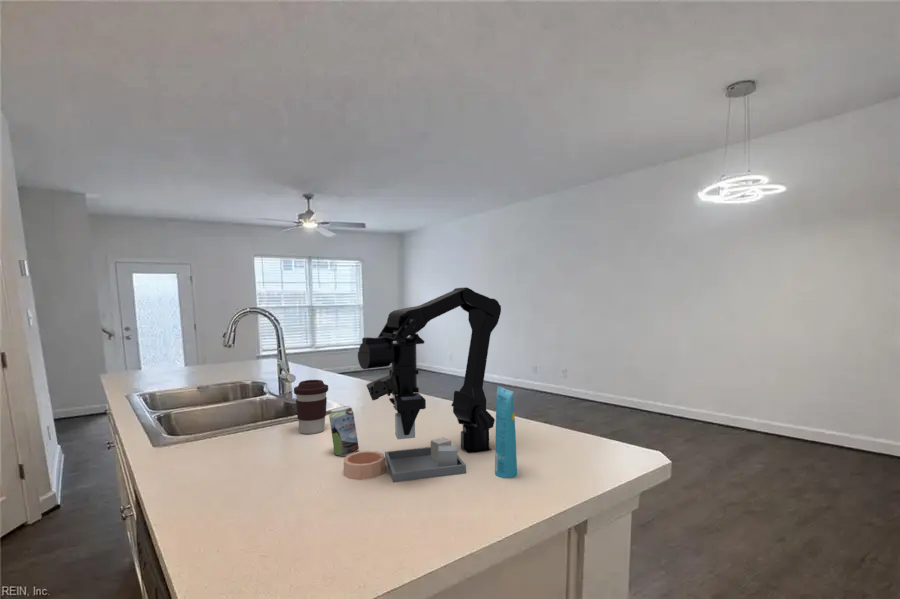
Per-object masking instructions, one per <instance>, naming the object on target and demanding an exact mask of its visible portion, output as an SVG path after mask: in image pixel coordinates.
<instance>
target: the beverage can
mask: <svg viewBox="0 0 900 599" xmlns="http://www.w3.org/2000/svg"><path fill="white" fill-rule="evenodd" d="M354 414H355V413H354V411H353V410H352V409H351V407H350V406H349V405H347V406H341V407H336V408H333V409H331V410H330V414H329V423H330V424H329V425H330V430H331V432H330V433H331V437H332V445H333V452H334V455H336V456H339V457H346V456H347V455H349V454H352V453H356V452H358V450H359V441H358V440H359V439H358V433H357V429H356V421H355V415H354Z"/></svg>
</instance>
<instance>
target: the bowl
mask: <svg viewBox="0 0 900 599" xmlns="http://www.w3.org/2000/svg"><path fill="white" fill-rule="evenodd" d="M385 471H386V460H385V453H382V452H379V451H377V450H376V451H375V450H374V451H373V450H372V451H371V450H363V451H356V453H352V454H349V455H347V456H344V457H343V476H344V477H346V478H347V479H351V480H357V481H358V480H359V481H361V480H369V479H375V478H376V477H380V476H381V475H383V474H384V472H385Z"/></svg>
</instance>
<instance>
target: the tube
mask: <svg viewBox="0 0 900 599" xmlns="http://www.w3.org/2000/svg"><path fill="white" fill-rule="evenodd" d="M496 387H497V388H496V398H495V399H496V401H495V405H496V406H495V444H494V445H495V447H494V450H495V451H494V454H495V456H494V463H495V464H494V474H495V476H496V477H498V478H500V479H513V478H516V477H517V476H518V460H517V441H516V440H517V439H516V420H515V419H516V418H515V417H516V416H515V402H514V391H512V390H509V389H507V388H505V387H502V386H499V385H497V386H496Z"/></svg>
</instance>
